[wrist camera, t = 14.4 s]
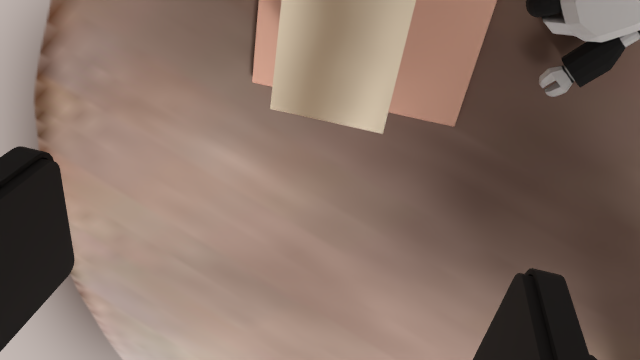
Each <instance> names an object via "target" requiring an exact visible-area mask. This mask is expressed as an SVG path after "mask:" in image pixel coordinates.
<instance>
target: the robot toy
mask: <svg viewBox="0 0 640 360" xmlns="http://www.w3.org/2000/svg"><path fill="white" fill-rule="evenodd" d="M526 7H527V11H528V12H529V14H531V15H532V16H534V17H542V19H543V22H544V23H545V24H546V25H547V27H548V28H549V29H550V31H551V32H552V33H553V34H562V35H572V36H576V37H578V38H580V39H581V40H583V41H587V42H586V43H584V44H583V45H581V46H579V47H578V48H576V49H575V50H573V51H572V52H570V53H568V54H567V55H565V56H564V57H562V61H563V63H564V65H565V66H558V67H553V68H548V69H547V70H546V71H545V72H544V73H543V74H542V75H541V76H540V77H539V84H540V86H541V87H542V88H544V87H545V86H547V85H548V84H550V83H552V82H554V81H555V80H556V81H557V82H556V83H554V84H553V85H551V86H550V87H548V88H546V89H545V92H546V94H547V95H548V96H552V97H555V96H558V95H561V94H563V93H566V92H567V91H568V89H569V88H570V87H571V85H572V84H573V82H574V80H575V81H576V83H577V84H578V85H579V87H582V86H583V85H585V84H587V83H588V82H590V81H592V80H594V79H595V78H597V77H599V76H600V75H602V74H604V73H605V72H607V71H609V70H610V69H611V68H612V67H613V65H614V64H615V62H616V61H617V60H618V58H619V57H620V56H621V54H622V52H623V51H624V49H625V48H626V47H627V46H629V45H630V44H632V43H634V42H635V41H637V40H639V39H640V0H527V1H526Z"/></svg>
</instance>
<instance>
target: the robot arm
mask: <svg viewBox="0 0 640 360" xmlns="http://www.w3.org/2000/svg"><path fill="white" fill-rule="evenodd" d="M73 265H74V253H73V247H72V241H71V234H70V228H69V222H68V216H67V210H66V204H65V198H64V192H63V185H62V179H61V173H60V168H59V165H58V164H57V163H56V162H54V160H53V157H52V156H51V155H50V154H49V153H47V152H43V151H39V150H35V149H30V148H26V147H16V148H14V149H12V150H10V151H9V152H7V153H6V154H4V155H3V156H2V157H0V351H1V350H2V349H3V348H4V347H5V346H6V345H7V343H9V341H10V340H11V339H12V338H13V337H14V336H15V334H17V332H18V331H19V330H20V329H21V328H22V327H23V326H24V325H25V324H26V322H27V321H28V320H29V319H30V318H31V317H32V316H33V314H34V313H35V312H36V311H37V310H38V309H39V308H40V307H41V306H42V305H43V303H44V302H45V301H46V300H47V299H48V298H49V297H50V296H51V294H52V293H53V292H54V291H55V290H56V289H57V288H58V286H59V285H60V284H61V283H62V282H63V281H64V280H65V279H66V278H67V277H68V275H69V274H70V272H71V270H72V268H73ZM473 360H597V359H596V358H595V357H594V356H592V355H589V352H588V349H587V346H586V343H585V340H584V337H583V334H582V331H581V328H580V325H579V321H578V318H577V315H576V312H575V309H574V306H573V303H572V300H571V297H570V294H569V290H568V287H567V284H566V281H565V279H564V277H563V276H561V275H558V274H554V273H550V272H545V271H541V270H537V269H533V268H532V269H529V270H528V271H527V272H526V273H525V274H521V273H518V274H516V275H515V277H514V279H513V281H512V283H511V285H510V287H509V289H508V291H507V293H506V295H505V297H504V299H503V301H502V303H501V305H500V307H499V309H498V311H497V313H496V315H495V317H494V319H493V320H492V322H491V324H490V326H489V328H488V330H487V332H486V334H485V336H484V338H483V340H482V342H481V344H480V346H479V348H478V350H477V352H476V354H475V356H474V358H473Z"/></svg>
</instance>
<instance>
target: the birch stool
mask: <svg viewBox="0 0 640 360" xmlns="http://www.w3.org/2000/svg"><path fill="white" fill-rule="evenodd" d="M415 3H416V0H282V1H281V10H280V20H279V30H278V39H277V49H276V58H275V68H274V77H273V87H272V96H271V106H270V109H273V110H278V111H282V112H287V113H291V114H296V115H300V116H305V117H309V118H314V119H318V120H323V121H327V122H332V123H336V124H341V125H345V126H349V127H354V128H358V129H363V130H367V131H372V132H376V133H381V134H383V131H384V127H385V123H386V119H387V115H388V111H389V107H390V103H391V99H392V95H393V91H394V87H395V83H396V79H397V75H398V71H399V67H400V63H401V59H402V55H403V51H404V47H405V43H406V39H407V35H408V31H409V27H410V23H411V19H412V15H413V11H414V7H415Z"/></svg>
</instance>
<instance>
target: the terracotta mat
mask: <svg viewBox="0 0 640 360" xmlns="http://www.w3.org/2000/svg"><path fill="white" fill-rule="evenodd" d="M281 1H282V0H259V5H258V17H257V29H256V42H255V54H254V66H253V79H252V82H253V83H258V84H262V85H267V86H271V87H273V77H274V68H275V58H276V49H277V39H278V30H279V20H280V10H281ZM496 2H497V0H416V3H415V7H414V11H413V15H412V19H411V23H410V27H409V31H408V35H407V39H406V43H405V47H404V51H403V55H402V59H401V63H400V67H399V71H398V75H397V79H396V83H395V87H394V91H393V95H392V99H391V103H390V107H389V111H388V112H389V113H394V114H398V115H403V116H407V117H412V118H416V119H421V120H426V121H430V122H435V123H439V124H444V125H448V126H453V127H454V126H455V123H456V120H457V117H458V115H459V112H460V109H461V106H462V103H463V100H464V97H465V94H466V91H467V88H468V85H469V82H470V79H471V76H472V73H473V70H474V67H475V64H476V61H477V58H478V55H479V52H480V49H481V46H482V43H483V40H484V37H485V34H486V31H487V29H488V26H489V23H490V20H491V17H492V14H493V11H494V8H495V5H496Z"/></svg>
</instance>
